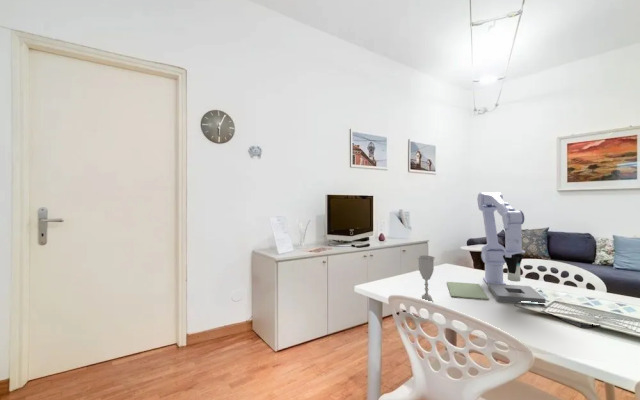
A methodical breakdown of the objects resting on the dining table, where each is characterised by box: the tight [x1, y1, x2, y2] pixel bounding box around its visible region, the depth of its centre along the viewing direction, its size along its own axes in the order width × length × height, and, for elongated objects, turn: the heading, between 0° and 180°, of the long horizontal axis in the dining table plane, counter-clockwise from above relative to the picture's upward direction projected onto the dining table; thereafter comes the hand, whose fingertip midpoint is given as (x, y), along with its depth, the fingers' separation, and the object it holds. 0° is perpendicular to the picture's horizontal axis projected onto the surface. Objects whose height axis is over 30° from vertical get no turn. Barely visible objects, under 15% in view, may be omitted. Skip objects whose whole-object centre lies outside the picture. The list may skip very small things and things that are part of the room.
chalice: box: [417, 255, 435, 303], centre depth 118 cm, size 7×7×18 cm
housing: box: [488, 283, 546, 304], centre depth 121 cm, size 16×16×2 cm
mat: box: [446, 281, 490, 301], centre depth 129 cm, size 20×14×1 cm
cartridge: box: [507, 263, 521, 282], centre depth 120 cm, size 4×4×7 cm
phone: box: [561, 319, 593, 329], centre depth 100 cm, size 8×1×15 cm
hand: (513, 271), depth 121 cm, fingers closed on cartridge, 4 cm apart
